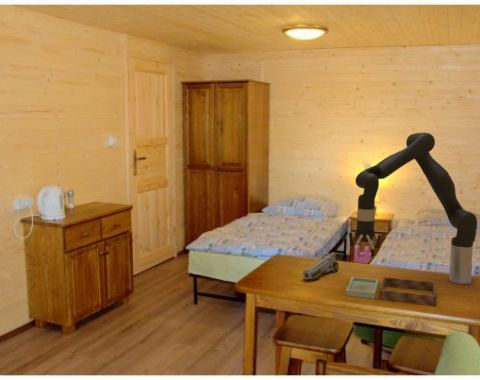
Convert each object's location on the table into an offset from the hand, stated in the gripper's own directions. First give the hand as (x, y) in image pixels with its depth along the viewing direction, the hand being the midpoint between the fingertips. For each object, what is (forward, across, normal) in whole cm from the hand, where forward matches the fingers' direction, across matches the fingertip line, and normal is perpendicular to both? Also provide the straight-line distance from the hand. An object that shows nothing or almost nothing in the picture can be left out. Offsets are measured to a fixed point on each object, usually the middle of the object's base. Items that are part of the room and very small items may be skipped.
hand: (364, 256), depth 225 cm
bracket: (+1, 0, 0) cm, 1 cm away
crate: (+15, -19, 0) cm, 24 cm away
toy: (+16, +21, -14) cm, 30 cm away
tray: (+15, 0, 0) cm, 15 cm away
